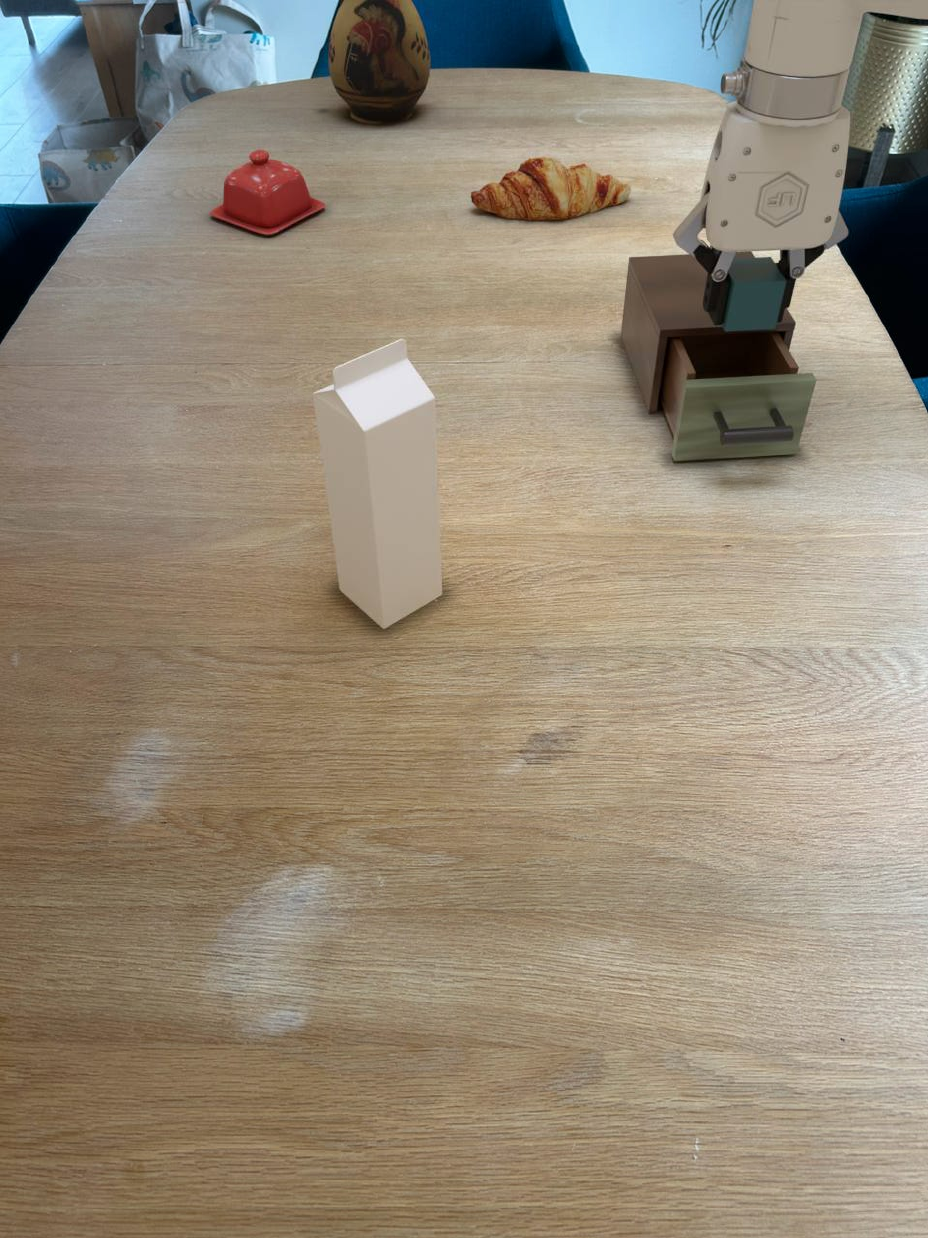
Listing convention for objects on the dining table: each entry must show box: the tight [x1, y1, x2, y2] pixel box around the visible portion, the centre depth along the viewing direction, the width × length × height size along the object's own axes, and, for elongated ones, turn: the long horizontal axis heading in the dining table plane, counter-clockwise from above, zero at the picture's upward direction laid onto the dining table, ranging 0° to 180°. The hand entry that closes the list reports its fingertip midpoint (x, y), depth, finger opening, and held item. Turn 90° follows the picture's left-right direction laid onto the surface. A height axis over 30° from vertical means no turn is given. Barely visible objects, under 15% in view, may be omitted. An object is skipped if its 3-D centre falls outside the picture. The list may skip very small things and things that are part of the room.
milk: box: [312, 338, 443, 630], centre depth 73 cm, size 6×6×22 cm
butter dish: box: [209, 149, 326, 236], centre depth 128 cm, size 12×12×8 cm
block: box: [722, 256, 786, 332], centre depth 85 cm, size 4×4×4 cm
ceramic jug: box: [328, 0, 431, 126], centre depth 146 cm, size 17×15×30 cm
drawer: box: [659, 331, 817, 462], centre depth 92 cm, size 18×11×8 cm, turn 5°
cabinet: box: [620, 251, 797, 415], centre depth 100 cm, size 15×13×10 cm
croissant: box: [470, 156, 632, 222], centre depth 130 cm, size 21×10×8 cm, turn 100°
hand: (743, 314), depth 86 cm, fingers closed on block, 4 cm apart
